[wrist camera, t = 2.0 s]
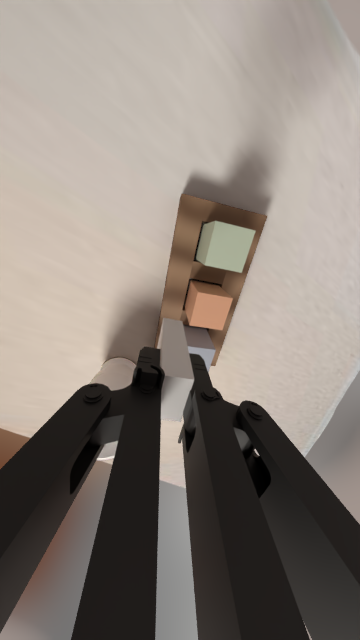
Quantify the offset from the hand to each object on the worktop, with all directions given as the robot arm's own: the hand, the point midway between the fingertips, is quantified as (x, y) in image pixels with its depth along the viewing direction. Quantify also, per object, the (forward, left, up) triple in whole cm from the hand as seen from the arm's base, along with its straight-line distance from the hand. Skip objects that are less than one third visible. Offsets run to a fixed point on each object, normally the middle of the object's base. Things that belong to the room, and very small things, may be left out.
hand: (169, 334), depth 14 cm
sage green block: (-7, +6, -18) cm, 21 cm away
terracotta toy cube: (+1, +6, -18) cm, 19 cm away
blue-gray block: (+10, +6, -18) cm, 22 cm away
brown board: (+1, +6, -20) cm, 21 cm away
